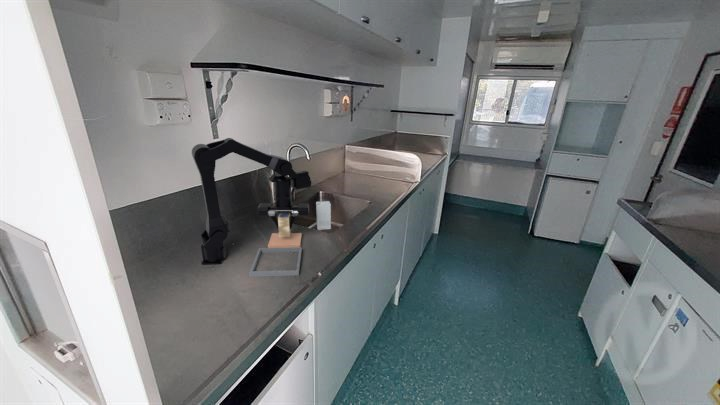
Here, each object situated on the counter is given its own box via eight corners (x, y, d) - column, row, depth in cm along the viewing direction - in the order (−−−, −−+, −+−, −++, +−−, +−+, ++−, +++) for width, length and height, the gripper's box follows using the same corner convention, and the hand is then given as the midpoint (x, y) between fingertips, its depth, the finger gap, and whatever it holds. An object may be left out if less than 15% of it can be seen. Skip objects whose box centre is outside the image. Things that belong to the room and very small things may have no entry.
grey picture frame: (249, 276, 93) (248, 272, 92) (259, 251, 107) (258, 248, 107) (298, 275, 95) (298, 271, 94) (301, 250, 109) (301, 247, 109)
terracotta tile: (268, 248, 110) (267, 245, 109) (272, 235, 119) (272, 233, 118) (300, 247, 111) (300, 245, 111) (301, 235, 120) (301, 232, 120)
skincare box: (329, 225, 131) (330, 200, 126) (331, 229, 127) (331, 204, 122) (316, 226, 129) (315, 200, 125) (317, 230, 125) (317, 204, 121)
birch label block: (279, 236, 111) (277, 217, 108) (280, 230, 116) (279, 212, 113) (289, 236, 112) (288, 217, 109) (290, 230, 116) (290, 212, 113)
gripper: (309, 185, 116) (309, 220, 121) (261, 184, 113) (264, 220, 119) (308, 194, 106) (308, 232, 111) (255, 194, 103) (258, 233, 109)
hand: (284, 229), depth 113 cm, fingers closed on birch label block, 4 cm apart
